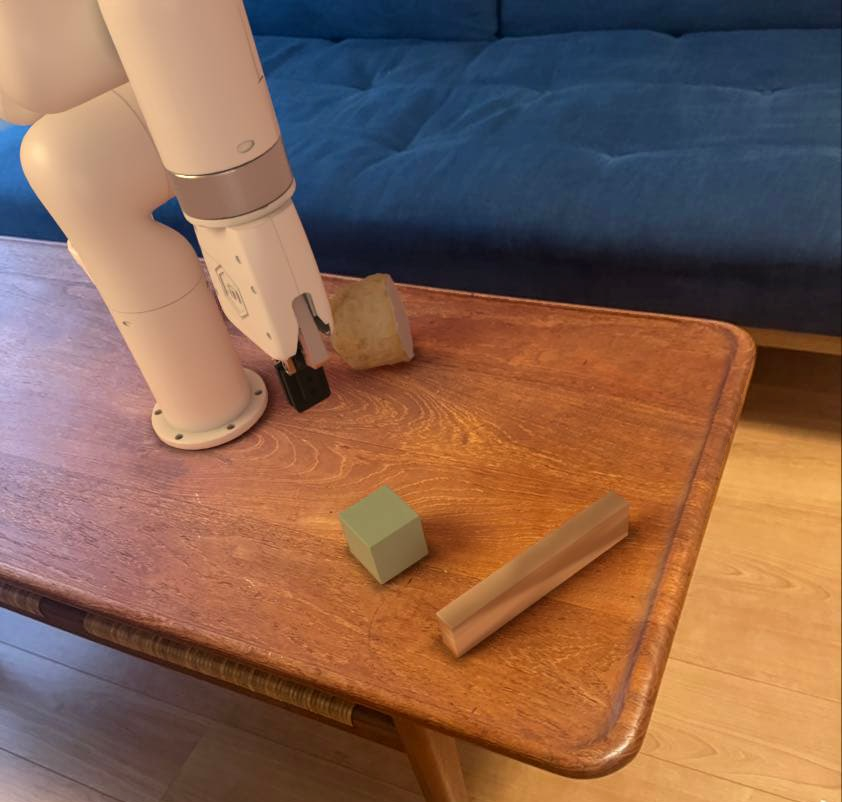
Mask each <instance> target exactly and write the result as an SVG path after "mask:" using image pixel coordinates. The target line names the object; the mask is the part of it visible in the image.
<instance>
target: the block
mask: <svg viewBox="0 0 842 802" xmlns="http://www.w3.org/2000/svg"><path fill="white" fill-rule="evenodd" d="M420 516H421V515H420V514H418V512H416V511H415V510H414V509H413V507H411V506H410V505H409V504H408V503H407V502H406V501H404V499H403V498H402V497H400V496H399V495H398V494H397V493H396V492H395V491H394V490H393V489H392V488H391V487H389V486H388V484H384V485H382V486H380V487H379V488H377V489H376V490H374V491H373V492H371V493H370V494H368V495H366V496H365V497H363V498H361V499H360V500H358V501H357V502H355V503H353V504H352V505H350V506H349V507H347V508H346V509H344V510H342V511H341V512H339V513H338V514H337V517H338V519H339V522H340V524H341V529H342V531H343V534H344V537H345V539H346V542H347V544H348V548H349V551H350V553H351V554H352V555H353V556H354V557H355V558H356V559H357V560H358V561H359V563H361V565H362V566H363V567H364V568H365V569H366V570H367V571H368V572H369V573H370V574H371V576H373V578H375V580H377V582H378V583H379V584H380V585H381V586H382V585H384V584H386V583H387V582H388V581H390V580H392V579H394V578H395V577H396V576H398V575H400V574H401V573H402V572H404V571H406V570H407V569H408V568H410V567H411V566H413V565H414V564H416V563H417V562H419V561H420V560H422V559H423V558H425V557H426V556H427V555H429V554H430V553H429V549H428V545H427V541H426V537H425V532H424V529H423V524H422V520H421V517H420Z"/></svg>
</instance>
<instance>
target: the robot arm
mask: <svg viewBox="0 0 842 802" xmlns="http://www.w3.org/2000/svg"><path fill="white" fill-rule="evenodd" d="M276 114H277V113H276V111H275V108H274V104H273V100H272V98H271V93H270V90H269V87H268V83H267V80H266V76H265V73H264V70H263V66H262V63H261V60H260V57H259V53H258V49H257V46H256V41H255V39H254V35H253V32H252V29H251V25H250V21H249V18H248V15H247V12H246V8H245V5H244V2H243V0H0V119H1V120H3V121H5V122H6V123H8V124H12V125H16V126H23V127H24V126H26V127H27V126H30V128H29V129H28V130H27V131H26V133H25V134H24V136H23V137H22V140H21V144H20V150H19V161H20V165H21V169H22V171H23V174H24V177H25V178H26V180H27V182H28V184H29V186H30V187H31V189H32V191H33V192H34V194H35V195H36V197H37V198H38V199H39V201H40V202H41V204H42V205H43V207H44V208H45V209H46V210H47V212H48V213H49V215H50V216H51V217H52V219H53V220H54V221H55V223H56V224H57V226H58V227H59V228H60V230H61V231H62V232H63V234H64V235H65V237H66V238H67V241H68V240H69V241H70V243H71V244H72V246H73V247H74V249H75V250H76V252H77V253H78V255H79V257H80V258H81V260H82V262H83V263H84V265H85V267H86V268H87V270H88V272H89V274H90V276H91V278H92V279H93V281H94V283H95V284H94V283H93V284H94V286H95V285H96V286H95V287H96V289H97V291H98V293H99V294H100V297H101V298H102V300H103V302H104V304H105V305H106V307H107V309H108V311H109V312H110V315H111V317H112V318H113V319H112V320H113V321H114V322H115V324H116V326H117V328H118V330H119V332H120V334H121V336H122V337H123V340H124V342H125V344H126V346H127V347H128V349H129V351H130V353H131V355H132V357H133V359H134V361H135V363H136V365H137V367H138V369H139V371H140V372H141V374H142V376H143V378H144V380H145V382H146V384H147V385H148V387H149V390H150V391H151V393H152V396H153V397H154V399H155V401H156V403H155V404H154V407H153V409H152V412H151V424H152V428H153V430H154V432H155V433H156V435H157V437H158V438H159V439H160V441H162V442H163V443H165V444H166V445H168V446H170V447H172V448H176V449H181V450H192V451H195V450H204V449H209V448H214V447H217V446H221V445H223V444H225V443H229V442H230V441H232V440H234V439H236V438H238V437H241V436H242V435H243V434H244V433H246V432H247V431H249V430H250V429H251V428H252V427H253V426H254V425H255V424H256V423H257V422H258V421H259V420H260V418H261V417H262V416H263V414H264V412H265V411H266V408H267V405H268V401H269V392H268V389H267V386H266V383H265V381H264V379H263V378H262V377H261V376H260V375H259V374H258V373H257V372H256V371H253V370H252V369H249V368H247V367H243V365H242V363H241V360H240V357H239V355H238V352H237V350H236V347H235V345H234V342H233V341H232V338H231V336H230V333H229V331H228V328H227V326H226V323H225V320H224V318H223V315H222V313H221V311H220V308H219V306H218V302H217V301H216V298H215V296H214V293H213V291H212V288H211V286H210V283H209V281H208V278H207V275H206V273H205V270H204V269H203V265H202V263H201V261H200V259H199V257H198V254H197V252H196V251H195V249H194V247H193V246H192V244H191V243H190V242H189V240H188V239H187V238H186V237H185V236H184V235H182V234H181V233H180V232H179V231H177V230H175V229H174V228H172V227H170V226H169V225H166V224H164V223H162V222H159V221H158V220H155V219H154V220H153V219H152V217H151V214H152V215H153V212H154V211H155V210H156V209H158V208H159V207H161V206H162V205H164V204H167V202H168V201H169V200H171V199H173V198H175V197H176V200H177V201H178V204H179V207H180V209H181V212H182V213H183V216H184V218H185V219H186V221H187V222H188V223H190V224H191V225H193V229H194V233H195V235H196V239H197V242H198V244H199V248H200V251H201V254H202V257H203V259H204V262H205V266H206V269H207V270H208V273H209V277H210V280H211V283H212V285H213V287H214V291H215V293H216V296H217V299H218V301H219V304H220V306H221V309H222V311H223V313H224V315H225V316H226V318H227V320H229V321H230V322H231V323H232V325H233V326H234V327H236V328H237V329H238V330H239V331H240V332H241V333H243V334H244V335H245V336H246V337H247V338H248V339H249V340H250V341H251V342H253V343H254V344H255V345H256V346H257V347H259V348H260V349H261V350H262V351H263V352H264V353H265V354H267V355H268V356H269V357H270V359H271V360H272V361H273V363H274V365H273V367H274V370H275V372H276V375H277V378H278V381H279V383H280V386H281V388H282V391H283V394H284V397H285V399H286V402H287V403H288V405H289V406H291V407H292V408H293V409H294V410H295V411H296V412H297V413H298V414H302V413H305V412H306V411H307V410H309V409H311V408H313V407H315V406H316V405H318V404H320V403H322V402H323V401H325V400H327V399H328V398H330V397H331V395H332V391H331V387H330V385H329V382H328V379H327V375H326V372H325V368H324V365H326V364H328V363H330V362H331V357H330V355H329V352H328V349H327V348H326V346H325V345H326V344H325V342H324V339H323V338H322V336H321V333H322V334H323V335H325V336H327V337H328V336H331V335H332V333H333V330H334V321H333V316H332V312H331V308H330V301H329V298H328V297H329V296H328V293H327V291H326V287H325V285H324V280H323V278H322V276H321V272H320V270H319V267H318V264H317V260H316V258H315V255H314V252H313V249H312V248H311V244H310V241H309V239H308V236H307V233H306V231H305V228H304V227H303V223H302V221H301V217H300V215H299V213H298V211H297V209H296V205H295V204H294V201H293V199H292V197H293V195H294V193H295V192H296V188H297V183H296V178H295V176H294V175H295V174H294V172H293V169H292V166H291V162H290V159H289V156H288V152H287V149H286V145H285V142H284V138H283V135H282V132H281V128H280V124H279V122H278V117H277V115H276Z"/></svg>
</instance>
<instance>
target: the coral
mask: <svg viewBox="0 0 842 802" xmlns="http://www.w3.org/2000/svg"><path fill="white" fill-rule="evenodd" d="M329 304H330V308H331V312H332V316H333V321H334V330H333V333H332V335H331V336H327V338H328V340H329V342H330V345H331V347H332V348H333V350H334V351H335V352H336V353H337V354H338V356H339V357H340V358H341V359H342V361H343V362H344V363H346V364H347V365H348V366H349V367H350V368H351V369H355V370H369V369H371V368H377V367H382V366H386V365H392V366H393V365H395V364H399V363H401V362H402V363H403V362H406V363H407V362H410V361H411V360H412V359H413V358H414V357H415V351H414V343H413V337H412V330H411V324H410V321H409V316H408V312H407V309H406V307H405V305H404V302H403V299H402V296H401V294H400V292H399V289H398V288H397V286H396V284H395V281H394V279H393V278H392V276H391V275H390V274H389V273H381V272H378V273H377V272H376V273H374V274H371V275H368V276H366V277H364V278H362V279H361V280H357V281H352V282H349V283H347V284H346V285H344V286H342V287H341V288H339V289H338V290H336V292H335V293H334V295H333V297H332V298H331V301H329Z"/></svg>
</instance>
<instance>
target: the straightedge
mask: <svg viewBox="0 0 842 802" xmlns="http://www.w3.org/2000/svg"><path fill="white" fill-rule="evenodd" d="M630 504H631V503H630V502H629V501H628V500H627V499H625V498H624V497H623V496H622V495H619V494H618V493H617V492H615V491H614V490H613V489H611V490H609V491H608V492H607V493H605V494H603V496H601V497H600V498H598V499H597V500H595V501H594V502H593V503H591V504H589V505H588V506H586V507H585V508H584V509H583V510H581V511H579V512H577V514H575V515H574V516H573V517H571V518H570V519H568V520H567V521H565V522H564V523H562V524H561V525H559V526H558V527H556V528H555V529H554V530H552V531H551V532H549V533H548V534H547V535H544V537H542V538H541V539H539V540H538V541H537V542H535V543H534V544H533V545H531V546H529V547H528V548H527V549H525V550H523V551H522V552H521V553H519V554H518V555H516V556H515V557H513V558H512V559H510V561H508V562H506V563H505V564H503V565H502V566H501V567H499V568H498V569H497V570H495V571H493V572H492V573H491V574H489V575H488V576H486V577H485V578H484V579H481V581H480V582H478V583H476V584H475V585H474V586H472V587H471V588H469V589H467V590H466V591H465V592H464V593H462V594H461V595H460V596H459V595H458V597H456V598H455V599H454V600H452V601H450V602H449V603H447V605H445V606H443V607H442V608H440V609H439V610H438V611H436V612H435V614H436V618H437V622H438V627H439V630H440V634H441V639H442V642H443V643H444V644H445V645H446V646H447V648H448V649H449V650H450V651H451V652H452V653H453V654H454V655H455V656H456V657H457V658H461V657H462V656H463V655H464V654H467V652H469V651H471V649H473V648H474V647H476V646H477V645H478V644H480V643H481V642H482V641H484V640H485V639H487V638H488V637H490V636H491V635H492V634H493V633H495V632H496V631H498V630H499V629H500V628H502V627H503V626H505V625H506V624H507V623H509V622H510V621H512V620H513V619H514V618H516V617H517V616H519V615H520V614H521V613H523V612H524V611H525V610H526V609H528V608H530V607H531V606H532V605H533V604H535V603H536V602H538V601H539V600H541V599H542V598H543V597H545V596H546V595H548V594H549V593H551V592H552V591H553V590H555V589H556V588H557V587H558V586H560V585H561V584H563V583H564V582H565V581H567V580H568V579H570V578H571V577H572V576H574V575H575V574H576V573H578V572H579V571H580V570H582V569H583V568H585V567H586V566H588V565H589V564H591V562H593V561H595V560H596V559H597V558H599V557H600V556H601V555H603V554H605V553H606V552H607V551H608V550H609V549H611V548H612V547H613V546H615V545H617V544H618V543H619V542H621V541H623V539H625V538H626V537H628V536H629V523H630Z"/></svg>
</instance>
